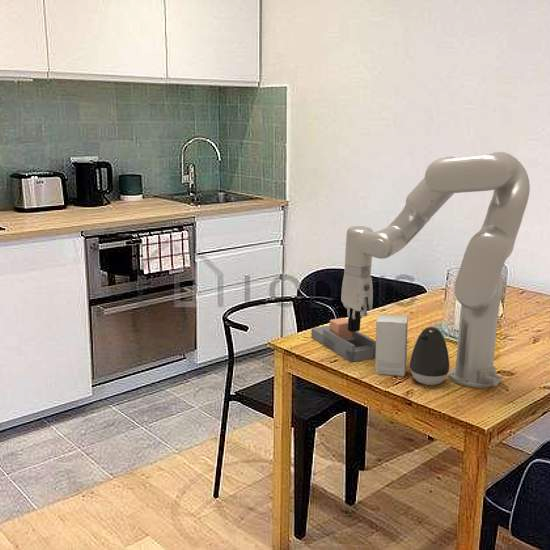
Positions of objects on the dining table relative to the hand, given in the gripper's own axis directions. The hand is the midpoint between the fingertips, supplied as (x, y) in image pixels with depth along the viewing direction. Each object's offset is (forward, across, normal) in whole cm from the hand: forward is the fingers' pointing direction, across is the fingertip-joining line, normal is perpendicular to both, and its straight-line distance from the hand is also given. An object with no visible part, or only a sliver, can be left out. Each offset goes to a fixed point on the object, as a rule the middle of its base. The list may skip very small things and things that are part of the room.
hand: (353, 330), depth 188 cm
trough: (+8, +6, 0) cm, 10 cm away
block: (+5, +7, 0) cm, 9 cm away
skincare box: (+7, -15, -2) cm, 17 cm away
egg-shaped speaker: (+7, -25, -8) cm, 27 cm away
